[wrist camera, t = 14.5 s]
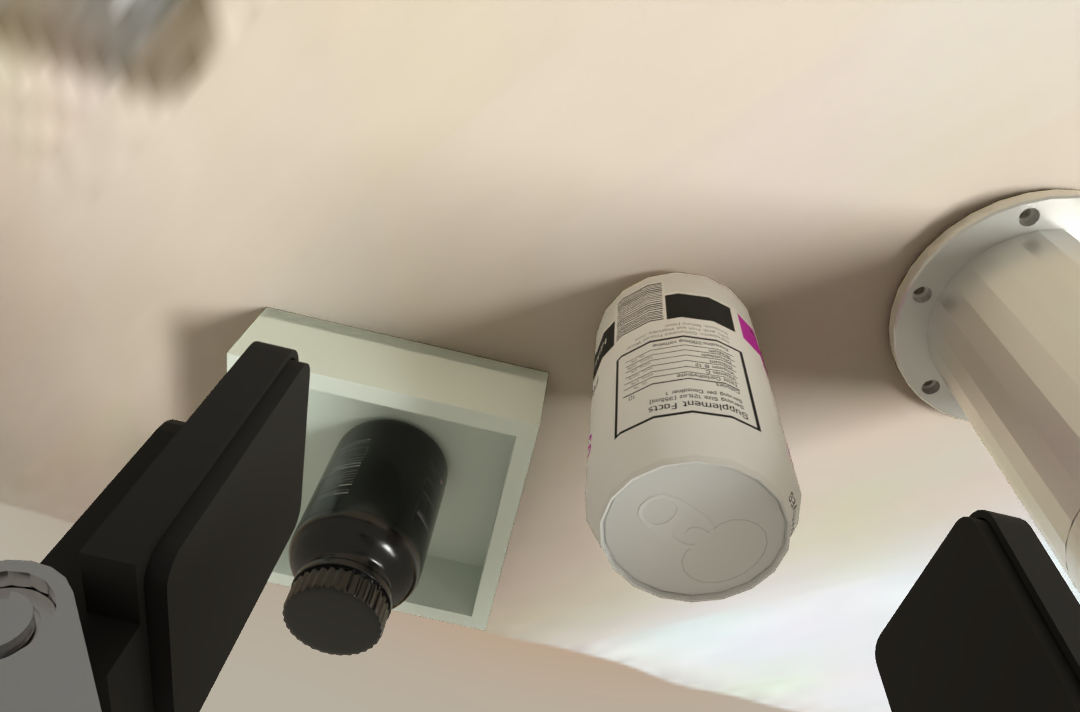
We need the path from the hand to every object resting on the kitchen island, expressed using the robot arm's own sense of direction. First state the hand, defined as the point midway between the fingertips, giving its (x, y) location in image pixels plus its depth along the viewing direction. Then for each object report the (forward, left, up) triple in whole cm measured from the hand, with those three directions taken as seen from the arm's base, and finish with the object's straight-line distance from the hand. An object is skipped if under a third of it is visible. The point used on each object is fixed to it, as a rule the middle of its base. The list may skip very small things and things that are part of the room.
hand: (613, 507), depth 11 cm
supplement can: (-6, +12, -28) cm, 32 cm away
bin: (+8, +24, -28) cm, 38 cm away
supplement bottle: (+8, +24, -28) cm, 37 cm away
